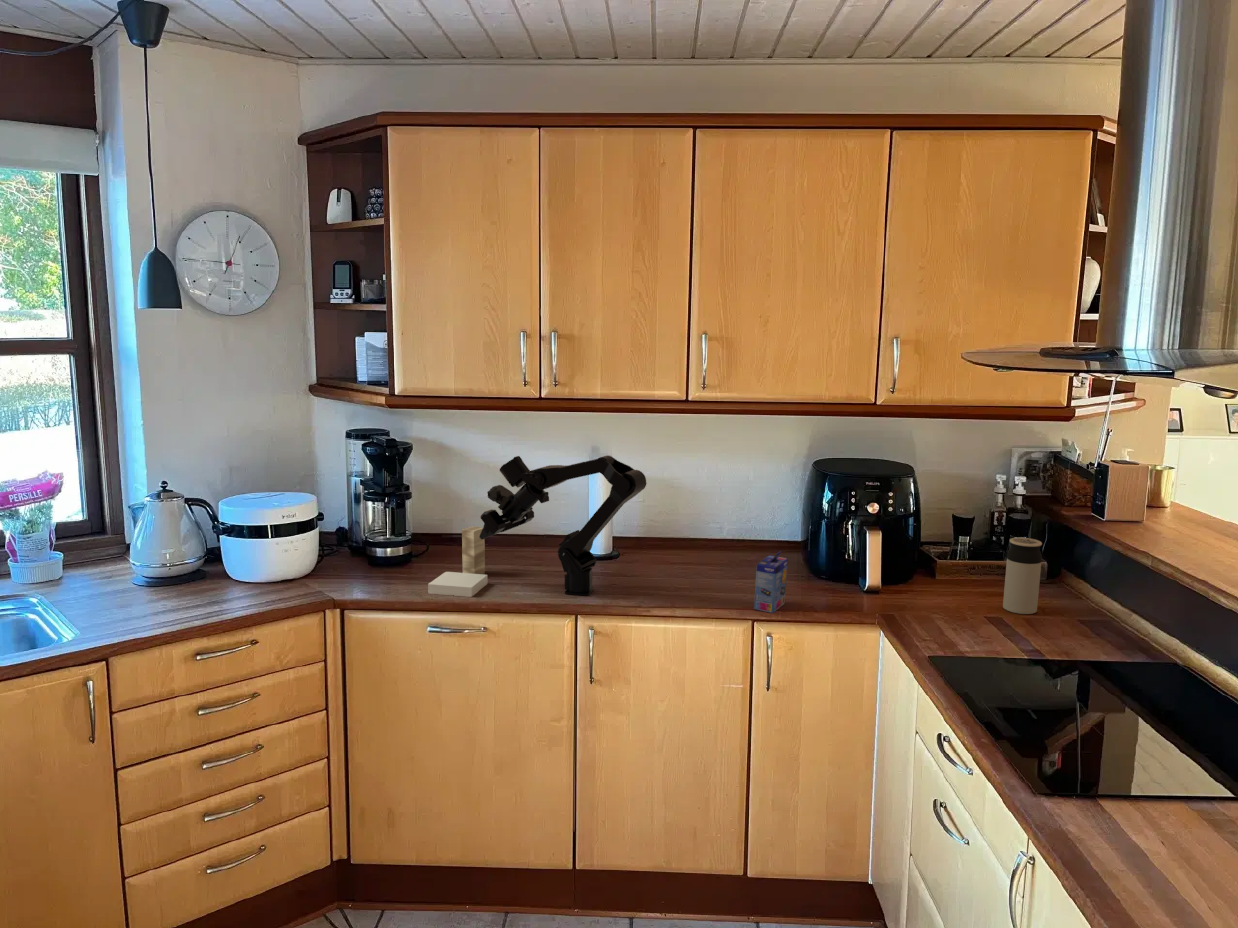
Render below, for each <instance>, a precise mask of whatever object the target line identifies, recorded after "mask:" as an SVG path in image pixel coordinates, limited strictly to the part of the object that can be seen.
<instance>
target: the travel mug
mask: <svg viewBox="0 0 1238 928" xmlns="http://www.w3.org/2000/svg"><path fill="white" fill-rule="evenodd" d="M1009 543H1010V547H1009V549H1008V550H1007V554H1006V565H1005V567H1006V568H1005V579H1004V586H1003V587H1004V589H1003V600H1002V608H1003V609H1004V610H1005V611H1008V612H1010V613H1013V614H1018V615H1032V614H1036V613H1037V612H1038V603H1039V592H1040V582H1041V571H1042V559H1043V555H1042V552H1041V546H1042V545H1043V542H1042V541H1040V540H1038V539H1035V538H1028V537H1011V538H1009Z"/></svg>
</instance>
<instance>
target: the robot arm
mask: <svg viewBox="0 0 1238 928" xmlns="http://www.w3.org/2000/svg"><path fill="white" fill-rule="evenodd" d="M499 472H500V473H501V475H502V476H503V477H504V479H505V480H506V481H507V483H509V485H510V486H511V487H513V488H514V487H516V488H517V489H518V488H519V489H518V490H517V491H516V492H515V494H514V493H513V492H512V491H511V490H510V489H508V488H507V487H505V486H503V485H500V484H498V485H494V486H492V487H491V488H490V489H489V490H487V498H488V499H489V500H491V501H492V502H495V503H496V504H497V505H498V506H497V508H498V509H499V511H501V515H500V514H499V512H498V511H497V510H496V509H489V510H486V511H484V512H483V513H482V514H481V515H480V519H481V521H482V522H483V523H484V524H483V527H482V528H483V529H482V531H481V534H480V536H479V537H480V538H481V540H482V539H485V540H486V539H487V538H489V537H492V536H494V535H497V534H500V533H503V532H506V531H509V530H511V529H514V528H517V527H520V526H521V525H524V524H527V523H528V522H531V521H532V520H533V519H534V518H535V512H534V511H533V510H534V509H533V507H534V506H535V504H536V503H538V502H539V503H540V504H544V503H547V502H549V501H550V497H549V492H548V491H545V490H547V489H550V488H553V487H556V486H558V485H560V484H563V483H565V482H567V481H569V480H572V479H576V478H581V477H586V476H591V475H595V474H599V473H600V474H601V475H602V476H603V477H604V478H605V479H606V481H607V482H608V483H609V484H610V485H611V488H610V490H609V491H610V492H609V495H608V496H607V498H606V499H605V500H604V501H603V503H602V504H601V505H600V506H599V508H597V510H596V511H595V512H594V513H593V515H592V516H591V517H590V518H589V520H588V521H587V522H586V523H585V525H583V527H582V528H581V529H578V530H575V531H572V532H570V533H568V534H566V535H565V537H564V539H563V541H562V542H560V543H559V544H558V546H559V547H558V549H557V556H558V559H559V561H560V563H561V566H562V570H563V572H564V573H565V574H564V590H565V591H564V594H565V595H575V596H587V597H588V596H590V595H591V593H592V591H593V590H594V589H595V588H594V586H593V568H594V567H595V566H596V563H597V558H596V557H595V556H594V554H593V553H592V552H591V550H592V548H593V545H594V544H593V543H594V541H595V540H596V538H597V537H598V535H599V534H600V533H601V532H602V531H603V530H604V529H605V528H606V526H607V525H608V523H609V522H610V521H611V520H612V519H613V518H614V517H615V515H616V514H617V513H618V512H619V511H620V509H621V508H622V507H623V506H624V504H626V503H627V502H629V501H631V500H632V499H633V498H635V497H636V496H637V495H638V494H639V493H641V492H642V491H643V490H644V489H646V487H647V484H648V483H647V478H646V475H645V474H644V472H643V471H641V470H638V469H634V468H633V467H631V466H630V465H629V464H626V463H624V462H622V461H619V460H617V459H616V458H615V457H613V456H611V455H603V456H600V457H598V458H594V459H590V460H586V461H581V462H578V463H572V464H568V465H564V464H563V465H562V464H556V465H555V464H553V465H551V464H550V465H546V466H542V467H538V468H536V469H531V470H530V469H529V467H528V466H527V465H526V464H525V463H524V461H523V459H522V458H521V456H520V455H515V456H514V457H512V459H510V460H509V461H507V462H506V463H503V464H502V465H501V467H500V468H499Z"/></svg>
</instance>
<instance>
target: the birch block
mask: <svg viewBox="0 0 1238 928" xmlns="http://www.w3.org/2000/svg"><path fill="white" fill-rule="evenodd" d="M482 529H483V527H481V526H476V525H474V526H473V525H472V526H469V527H467V528H463V529H461V541H462V542H461V544H462V547H461V548H462V549H461V552H462V553H461V554H462V558H461V559H462V560H461V561H462V573H471V574H485V573H486V565H485V564H486V563H485V562H486V561H485V559H486V557H485V555H486V554H485V553H486V550H485V549H486V548H485V547H486V546H485V543H486V542H485V540H486V538H485V539H482V540H481V538H480V537H479V536H480V534H481V531H482Z"/></svg>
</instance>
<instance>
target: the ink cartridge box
mask: <svg viewBox="0 0 1238 928" xmlns="http://www.w3.org/2000/svg"><path fill="white" fill-rule="evenodd" d="M781 553H782V551H781V550H780V551H778V552H777V553H776V554H775V555H767V556H766V557H765V558H764V559H761V560H760V561H759V562H757V563H756V573H755V587H754V588H755V590H754V602H753V603H754V604H753V610H756V611H760V612H765V613H770V614H774V613H775V612H776V611H777V610H779V609H780V608H781V607H782V606H783V605H785V604H786V603H785V601H786V600H785V599H786V591H787V590H786V589H787V579H788V563H789V559H788V558H787V557H782V556H780V554H781Z"/></svg>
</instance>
